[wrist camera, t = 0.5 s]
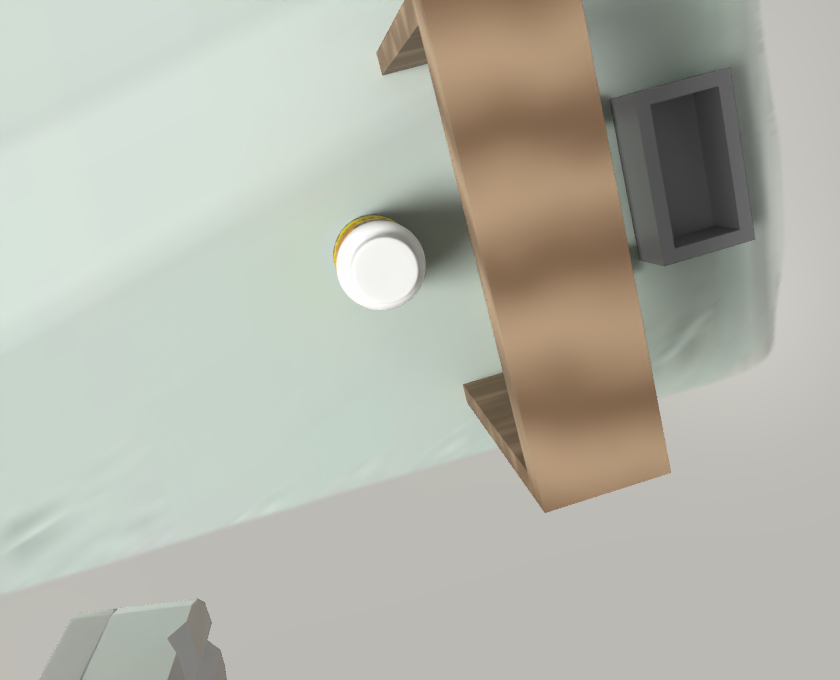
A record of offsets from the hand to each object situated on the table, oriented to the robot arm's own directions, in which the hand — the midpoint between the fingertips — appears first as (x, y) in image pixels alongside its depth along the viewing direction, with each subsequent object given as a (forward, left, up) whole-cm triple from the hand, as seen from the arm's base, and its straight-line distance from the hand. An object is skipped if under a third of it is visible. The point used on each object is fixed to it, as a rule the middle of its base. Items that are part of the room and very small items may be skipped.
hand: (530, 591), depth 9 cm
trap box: (+1, +25, -44) cm, 51 cm away
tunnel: (+1, +9, -44) cm, 45 cm away
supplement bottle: (+1, +2, -45) cm, 45 cm away
